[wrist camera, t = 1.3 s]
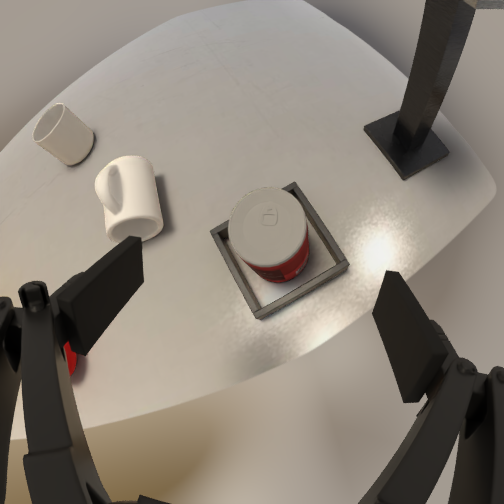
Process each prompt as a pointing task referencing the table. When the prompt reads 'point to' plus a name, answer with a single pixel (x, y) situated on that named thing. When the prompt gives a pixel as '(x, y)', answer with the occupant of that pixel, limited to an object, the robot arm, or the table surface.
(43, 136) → the mug
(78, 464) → the robot arm
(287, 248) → the canned food
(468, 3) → the steel stand
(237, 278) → the grey square frame
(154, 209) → the mug
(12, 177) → the table surface
